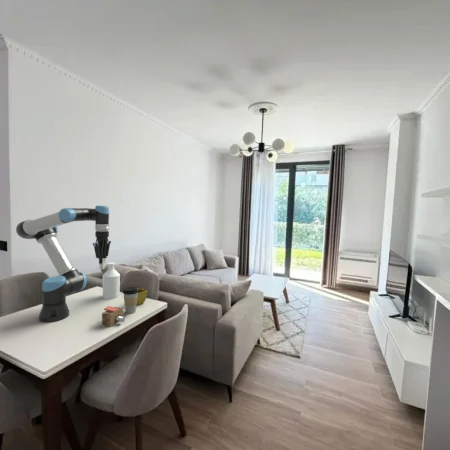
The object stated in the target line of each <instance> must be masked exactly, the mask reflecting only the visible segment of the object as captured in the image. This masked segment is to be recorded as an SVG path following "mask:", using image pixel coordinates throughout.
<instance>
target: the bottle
mask: <svg viewBox="0 0 450 450" xmlns="http://www.w3.org/2000/svg"><path fill="white" fill-rule="evenodd" d="M115 264H116V263H115V262H108V263H107V266H108V269H107V270H106V272H104V273H103V274H102V299H104V300H111V299H117V298H119V297H120V293H121V291H120V289H121V287H120V286H121V284H120V283H121V280H120V279H121V274H120V273H119V272H118V271H117V270H116V269H115Z"/></svg>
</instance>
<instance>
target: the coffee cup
mask: <svg viewBox="0 0 450 450" xmlns="http://www.w3.org/2000/svg"><path fill="white" fill-rule="evenodd" d="M138 289H139V288H137V287H135V286H130V287H129V286H128V287H125V288H124V289H123V291H122V294H123V300H124V301H123V303H124V307H125V313H126V314H127V315H128V314H129V315H131V314H134V313H136V310H137V305H136V304H137V297H138V296H137V294H138V292H139V291H138Z"/></svg>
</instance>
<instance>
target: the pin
mask: <svg viewBox="0 0 450 450" xmlns="http://www.w3.org/2000/svg"><path fill="white" fill-rule="evenodd" d="M115 321H119V322H120V323H123V322H124V321H125V317H124V316H123V317H119V316H115ZM119 322H118V323H119Z"/></svg>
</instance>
